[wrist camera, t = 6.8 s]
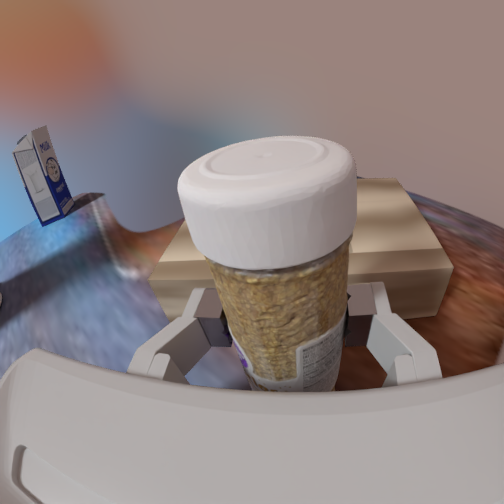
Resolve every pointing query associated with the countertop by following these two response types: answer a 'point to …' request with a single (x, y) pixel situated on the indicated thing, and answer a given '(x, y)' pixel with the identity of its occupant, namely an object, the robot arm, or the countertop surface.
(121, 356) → the countertop surface
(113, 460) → the robot arm
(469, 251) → the countertop surface
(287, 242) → the sprinkles bottle
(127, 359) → the countertop surface
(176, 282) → the bottle holder
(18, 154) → the milk carton
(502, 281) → the countertop surface
